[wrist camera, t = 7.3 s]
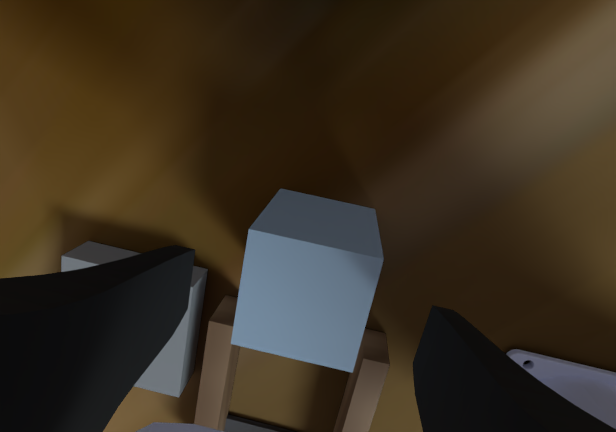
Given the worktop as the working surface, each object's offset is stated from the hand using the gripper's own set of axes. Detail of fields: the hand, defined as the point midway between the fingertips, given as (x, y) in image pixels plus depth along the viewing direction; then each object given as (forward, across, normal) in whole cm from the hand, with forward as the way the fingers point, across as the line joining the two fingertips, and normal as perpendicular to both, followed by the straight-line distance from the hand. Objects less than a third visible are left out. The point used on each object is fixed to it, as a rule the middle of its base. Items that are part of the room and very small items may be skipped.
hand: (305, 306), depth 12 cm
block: (+8, 0, +1) cm, 8 cm away
